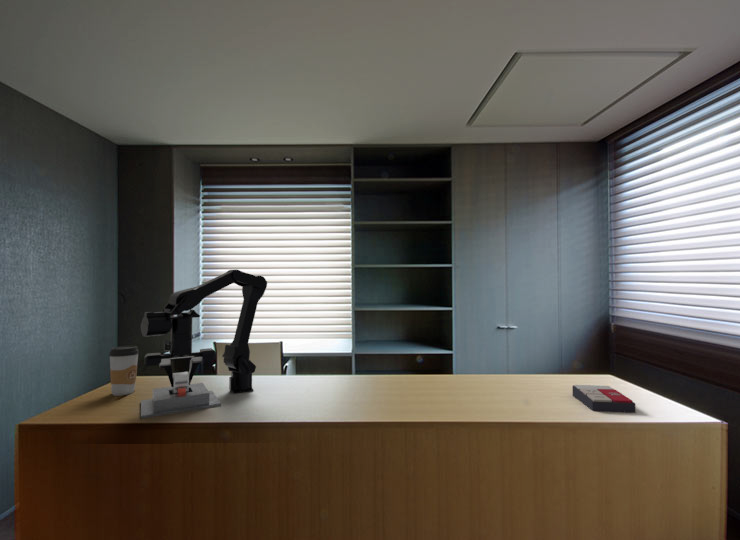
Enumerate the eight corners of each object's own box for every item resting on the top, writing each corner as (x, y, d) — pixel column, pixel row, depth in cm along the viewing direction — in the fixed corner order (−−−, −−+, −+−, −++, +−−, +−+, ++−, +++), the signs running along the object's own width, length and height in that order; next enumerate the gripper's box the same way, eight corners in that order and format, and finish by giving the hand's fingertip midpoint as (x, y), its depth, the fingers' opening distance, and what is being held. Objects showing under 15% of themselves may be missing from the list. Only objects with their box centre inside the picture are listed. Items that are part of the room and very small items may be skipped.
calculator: (592, 399, 103) (571, 382, 118) (592, 414, 103) (572, 396, 118) (636, 400, 101) (609, 383, 116) (636, 416, 101) (609, 397, 116)
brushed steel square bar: (187, 401, 113) (187, 371, 114) (188, 405, 110) (189, 374, 110) (172, 403, 111) (172, 373, 112) (173, 407, 107) (173, 376, 108)
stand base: (211, 393, 123) (212, 375, 123) (220, 406, 109) (221, 386, 109) (140, 403, 112) (141, 384, 112) (140, 418, 99) (141, 397, 99)
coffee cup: (123, 397, 118) (124, 349, 119) (101, 396, 120) (102, 349, 121) (144, 390, 126) (145, 345, 127) (123, 389, 128) (124, 345, 129)
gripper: (210, 328, 123) (210, 376, 123) (145, 332, 114) (143, 384, 113) (216, 332, 114) (215, 383, 113) (145, 336, 104) (144, 393, 103)
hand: (180, 385), depth 111 cm, fingers closed on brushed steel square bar, 4 cm apart
